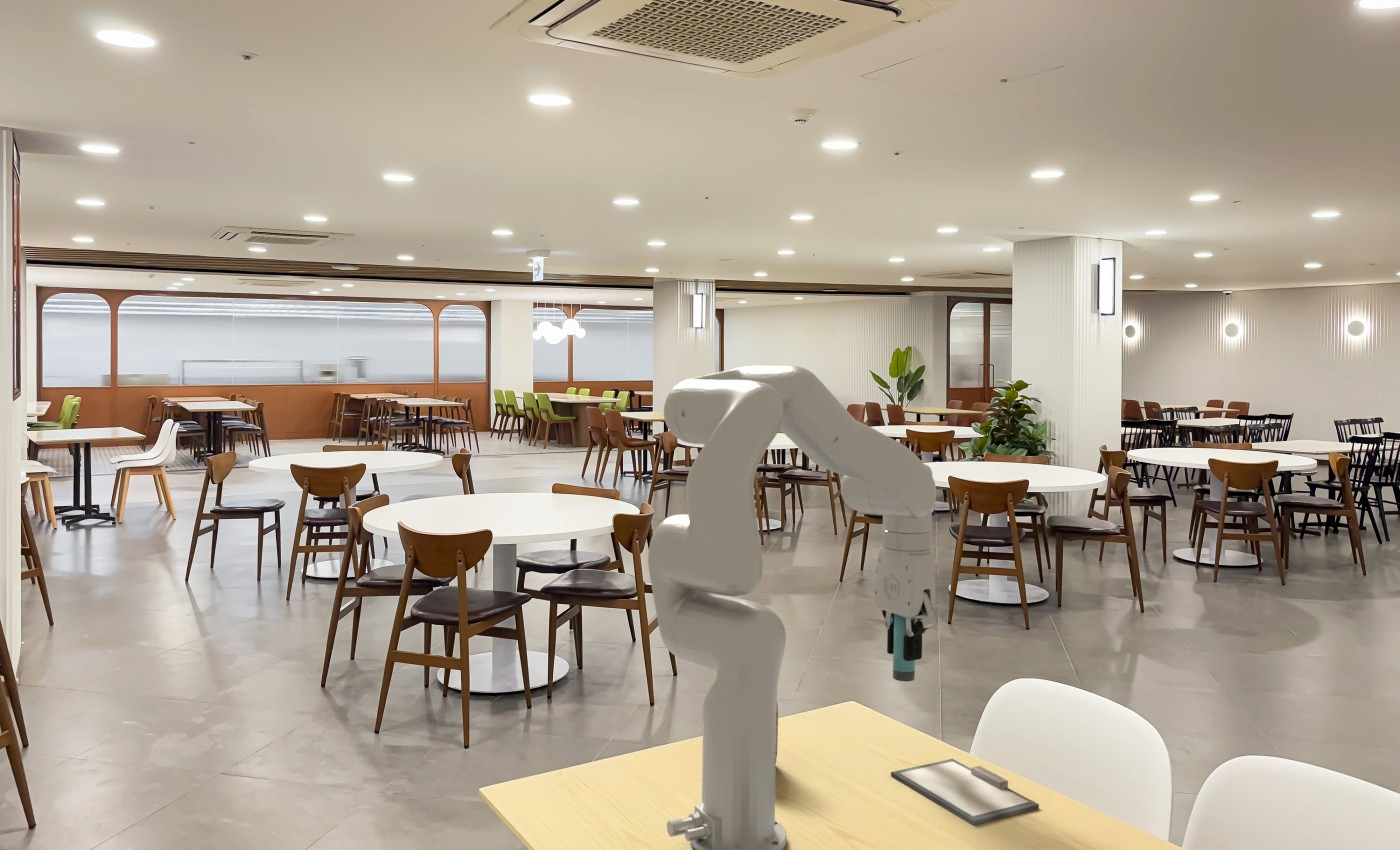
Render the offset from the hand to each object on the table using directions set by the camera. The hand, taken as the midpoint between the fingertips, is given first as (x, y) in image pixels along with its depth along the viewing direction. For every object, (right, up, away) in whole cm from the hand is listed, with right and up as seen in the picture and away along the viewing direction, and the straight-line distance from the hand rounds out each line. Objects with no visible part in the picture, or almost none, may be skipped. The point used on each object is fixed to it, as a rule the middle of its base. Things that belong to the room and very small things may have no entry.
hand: (904, 655), depth 156 cm
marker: (0, -4, 0) cm, 4 cm away
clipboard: (+6, -17, -12) cm, 22 cm away
